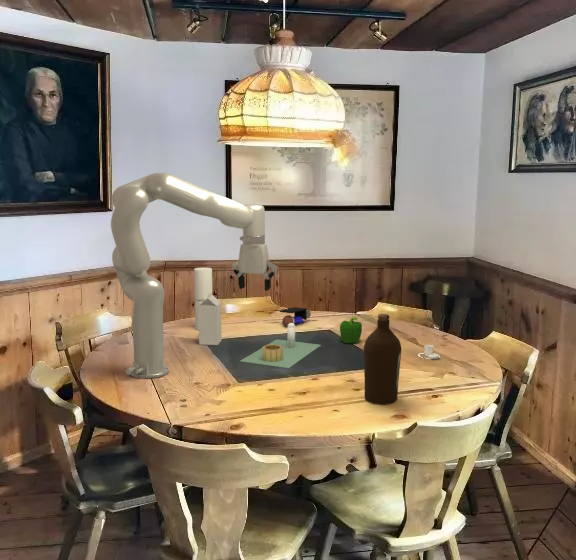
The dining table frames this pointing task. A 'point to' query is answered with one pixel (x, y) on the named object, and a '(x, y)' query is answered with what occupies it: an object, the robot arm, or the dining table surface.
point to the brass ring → (272, 353)
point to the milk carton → (210, 321)
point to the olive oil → (382, 363)
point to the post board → (285, 351)
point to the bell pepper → (350, 331)
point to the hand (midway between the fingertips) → (254, 289)
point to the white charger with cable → (429, 352)
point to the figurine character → (295, 315)
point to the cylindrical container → (201, 289)
